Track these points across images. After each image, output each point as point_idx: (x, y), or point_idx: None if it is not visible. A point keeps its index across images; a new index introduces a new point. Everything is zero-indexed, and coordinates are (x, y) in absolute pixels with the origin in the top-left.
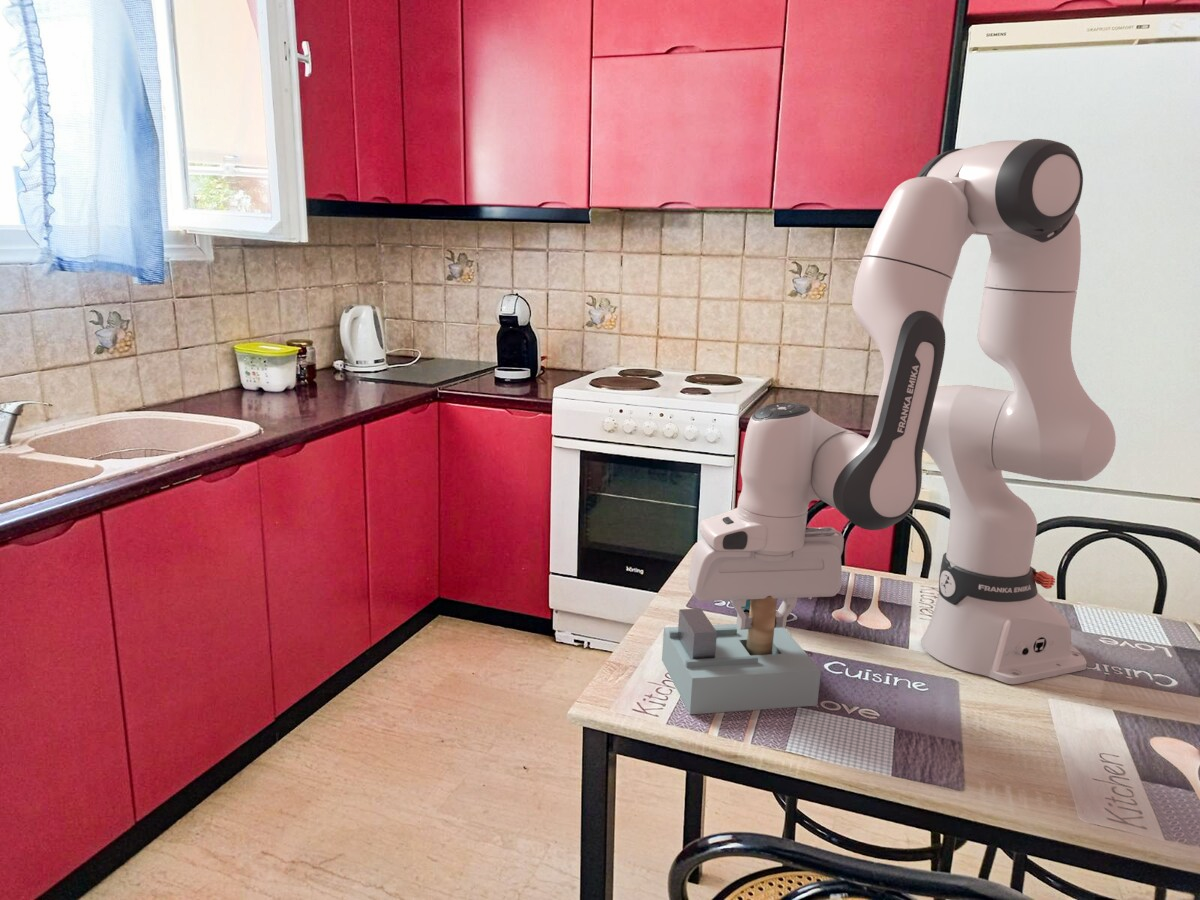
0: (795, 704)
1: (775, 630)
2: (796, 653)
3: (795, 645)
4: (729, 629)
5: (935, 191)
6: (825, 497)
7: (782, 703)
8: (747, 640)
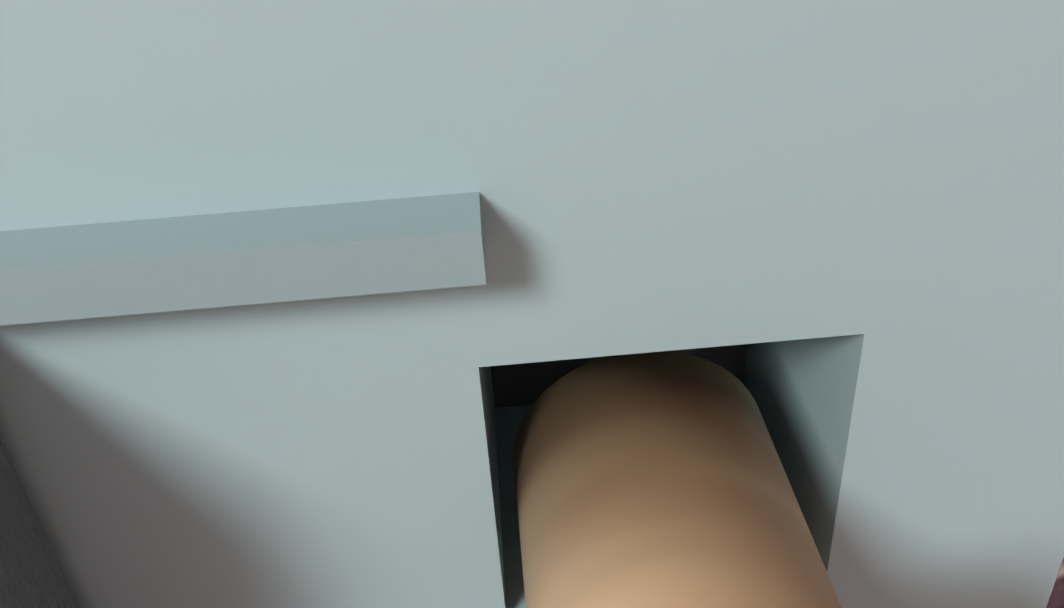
0: None
1: (1059, 145)
2: (961, 589)
3: (1055, 462)
4: (376, 290)
5: None
6: None
7: None
8: (524, 568)
